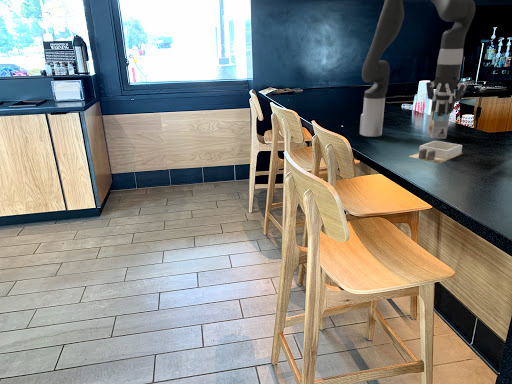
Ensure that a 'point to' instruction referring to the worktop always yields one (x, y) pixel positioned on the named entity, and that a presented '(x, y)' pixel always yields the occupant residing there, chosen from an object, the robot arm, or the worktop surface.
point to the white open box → (442, 149)
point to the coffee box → (438, 127)
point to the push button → (441, 107)
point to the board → (430, 156)
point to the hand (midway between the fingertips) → (441, 112)
